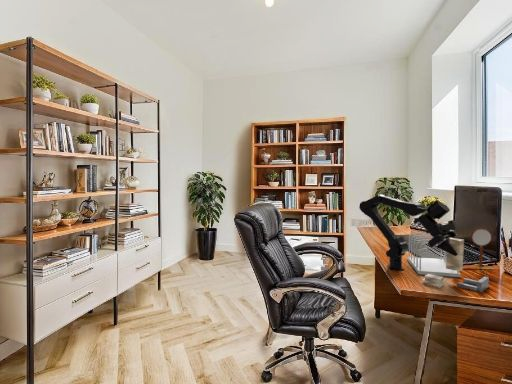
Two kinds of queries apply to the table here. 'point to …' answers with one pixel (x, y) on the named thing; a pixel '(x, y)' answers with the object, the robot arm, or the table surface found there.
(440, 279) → the offcut stack
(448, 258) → the cream upright block
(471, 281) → the rack
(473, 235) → the magnifying glass
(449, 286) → the table surface
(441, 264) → the file sorter
